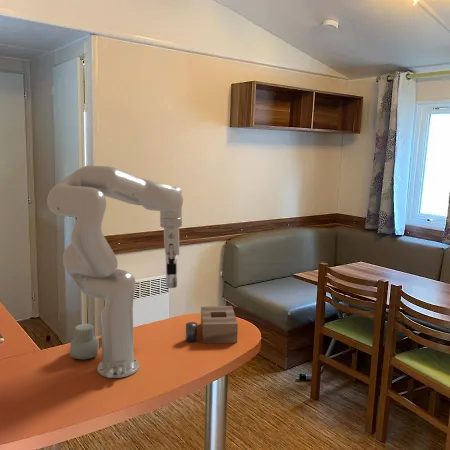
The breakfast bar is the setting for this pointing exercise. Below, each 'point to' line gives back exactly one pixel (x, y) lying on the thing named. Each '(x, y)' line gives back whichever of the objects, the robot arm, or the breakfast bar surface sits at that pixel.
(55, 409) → the breakfast bar surface
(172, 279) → the tall steel pin
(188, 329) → the short black pin
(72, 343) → the air freshener
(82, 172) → the robot arm
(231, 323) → the walnut block
